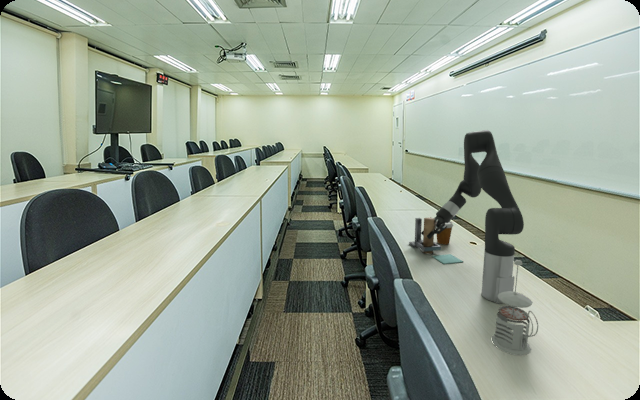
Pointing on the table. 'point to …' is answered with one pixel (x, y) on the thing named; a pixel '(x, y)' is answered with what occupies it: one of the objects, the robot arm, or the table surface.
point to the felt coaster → (447, 259)
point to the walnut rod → (427, 229)
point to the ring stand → (419, 241)
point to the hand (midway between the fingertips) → (425, 236)
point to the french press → (503, 334)
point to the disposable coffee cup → (445, 234)
